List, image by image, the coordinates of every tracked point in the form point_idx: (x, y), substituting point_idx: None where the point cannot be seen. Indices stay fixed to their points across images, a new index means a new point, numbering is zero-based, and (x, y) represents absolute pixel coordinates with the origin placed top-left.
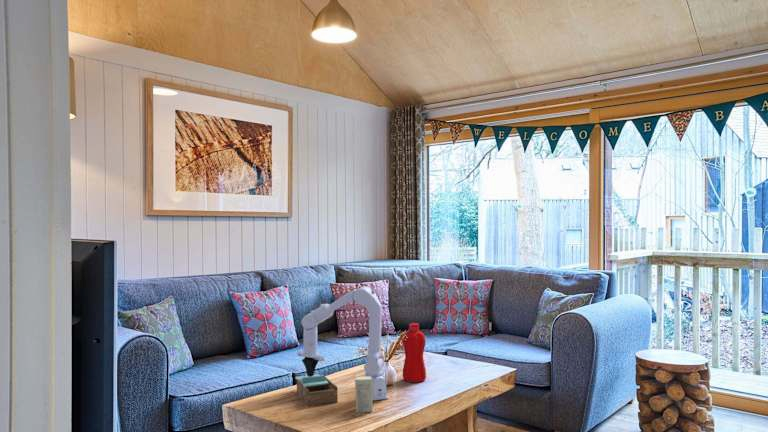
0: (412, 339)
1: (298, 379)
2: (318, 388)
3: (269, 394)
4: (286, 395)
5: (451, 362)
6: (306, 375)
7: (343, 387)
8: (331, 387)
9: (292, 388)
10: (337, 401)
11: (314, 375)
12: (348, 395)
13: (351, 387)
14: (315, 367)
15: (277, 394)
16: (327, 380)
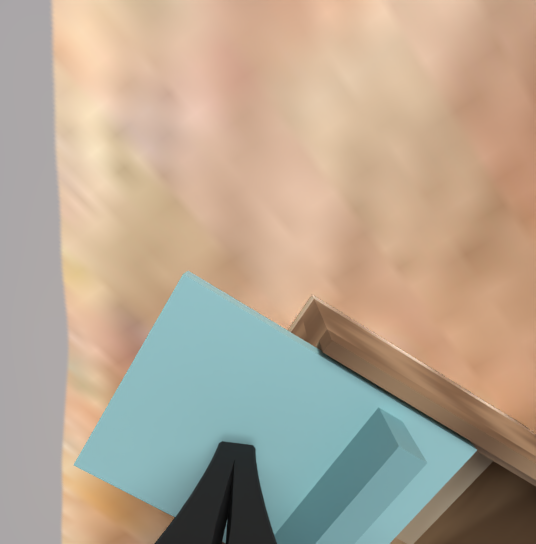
0: None
1: (164, 507)
2: None
3: (78, 511)
4: None
5: None
6: (121, 382)
7: (379, 142)
8: (534, 484)
9: (87, 367)
10: (529, 430)
11: (187, 341)
12: (522, 283)
13: (439, 101)
14: (273, 536)
15: (113, 491)
16: (429, 413)
